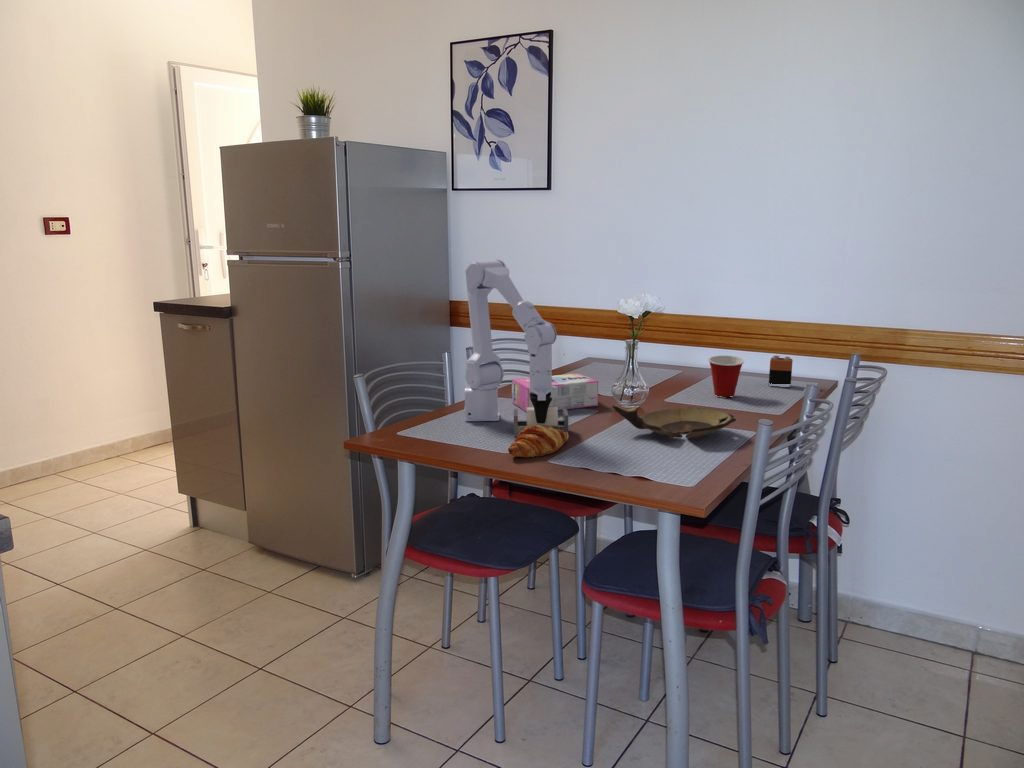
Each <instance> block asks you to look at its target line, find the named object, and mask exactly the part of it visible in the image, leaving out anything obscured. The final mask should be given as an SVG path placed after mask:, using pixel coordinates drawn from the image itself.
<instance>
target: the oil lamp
mask: <svg viewBox="0 0 1024 768" xmlns="http://www.w3.org/2000/svg"><path fill="white" fill-rule="evenodd" d="M612 409H614V410H615V412H616V413H618V414H619V415H620V416H621V417H623V418H624V419H625V420H626V421H628V423H630V424H631V425H632V426H633V427H635V428H636V429H638V430H648V431H652V432H654V433H657V434H659V435H663V436H667V437H672V438H679V439H682V438H683V435H682V434H686V435H685V438H686V439H690V438H691V439H693V438H698V437H702V436H706V435H710V434H712V433H715V432H717V431H718V430H719V431H720V430H721V429H724V428H725V427H727V426H729V425H730V424H732V423H734V422H736V421H737V419H736V418H734V415H733V414H731V413H727V412H724V411H721V410H718V409H714V408H713V409H711V408H703V407H700V408H699V407H689V406H687V407H676V408H675V407H674V408H667V409H660V410H656V411H653V412H647V413H645V414H644V415H642V416H639V415H638V409H637V407H632V408H625V407H621V406H619V405H617V404H612Z"/></svg>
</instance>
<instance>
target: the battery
mask: <svg viewBox="0 0 1024 768" xmlns="http://www.w3.org/2000/svg"><path fill="white" fill-rule="evenodd" d="M792 373H793V358H791V357H790V356H784V357H780V355H773V356H772V357H771V358H770V360H769V372H768V384H769V383H770V384H771V383H772V384H791V385H792V376H793V375H792Z"/></svg>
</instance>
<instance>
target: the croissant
mask: <svg viewBox="0 0 1024 768" xmlns="http://www.w3.org/2000/svg"><path fill="white" fill-rule="evenodd" d="M568 439H569V431H568V432H563V431H562V430H560V429H557V430H556V429H554V428H552V427H550V426H545V427H542V426H539V425H533V426H529V427H526V428H525V429H523V430H522V431H521V432H520V433H519V435H518V437H515V439H514V441H513V442H512V443H511V444H510V446H509V447H508V449H507V451H508V453H509V454H510V455H511V456H512V457H513V456H514V457H519V458H529V457H532V458H535V456H536V457H543V456H547V455H548V454H549V455H550V454H552V453H555V452H556V451H558V450H559V449H560V448H562V446H564V444H565V443H566V442H567V441H568ZM546 454H547V455H546Z"/></svg>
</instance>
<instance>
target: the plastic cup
mask: <svg viewBox="0 0 1024 768" xmlns="http://www.w3.org/2000/svg"><path fill="white" fill-rule="evenodd" d="M708 362H709V366H710V369H711V378H712V385H713V392H714V396H715V395H717V396H722V397H730V396H734V397H735V394H736V389H737V386H738V381H739V376H740V372H741V370H742V367H743V364H744V362H745V359H744V358H742V357H739V356H734V355H713V356H710V357H709V358H708Z"/></svg>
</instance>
